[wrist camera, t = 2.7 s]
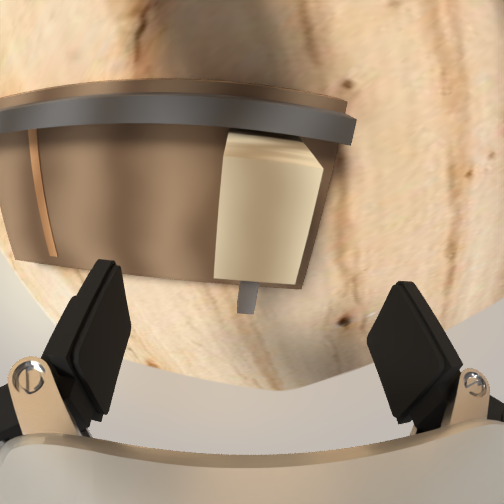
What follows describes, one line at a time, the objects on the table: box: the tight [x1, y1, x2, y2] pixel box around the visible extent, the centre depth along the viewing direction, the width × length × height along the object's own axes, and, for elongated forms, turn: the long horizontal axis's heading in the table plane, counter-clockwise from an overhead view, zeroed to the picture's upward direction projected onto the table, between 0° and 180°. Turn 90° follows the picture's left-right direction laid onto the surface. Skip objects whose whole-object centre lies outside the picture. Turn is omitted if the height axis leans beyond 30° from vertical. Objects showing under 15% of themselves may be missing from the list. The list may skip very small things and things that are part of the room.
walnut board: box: [0, 79, 357, 289], centre depth 18 cm, size 25×14×4 cm, turn 83°
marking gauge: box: [214, 128, 323, 314], centre depth 17 cm, size 4×10×6 cm, turn 173°
